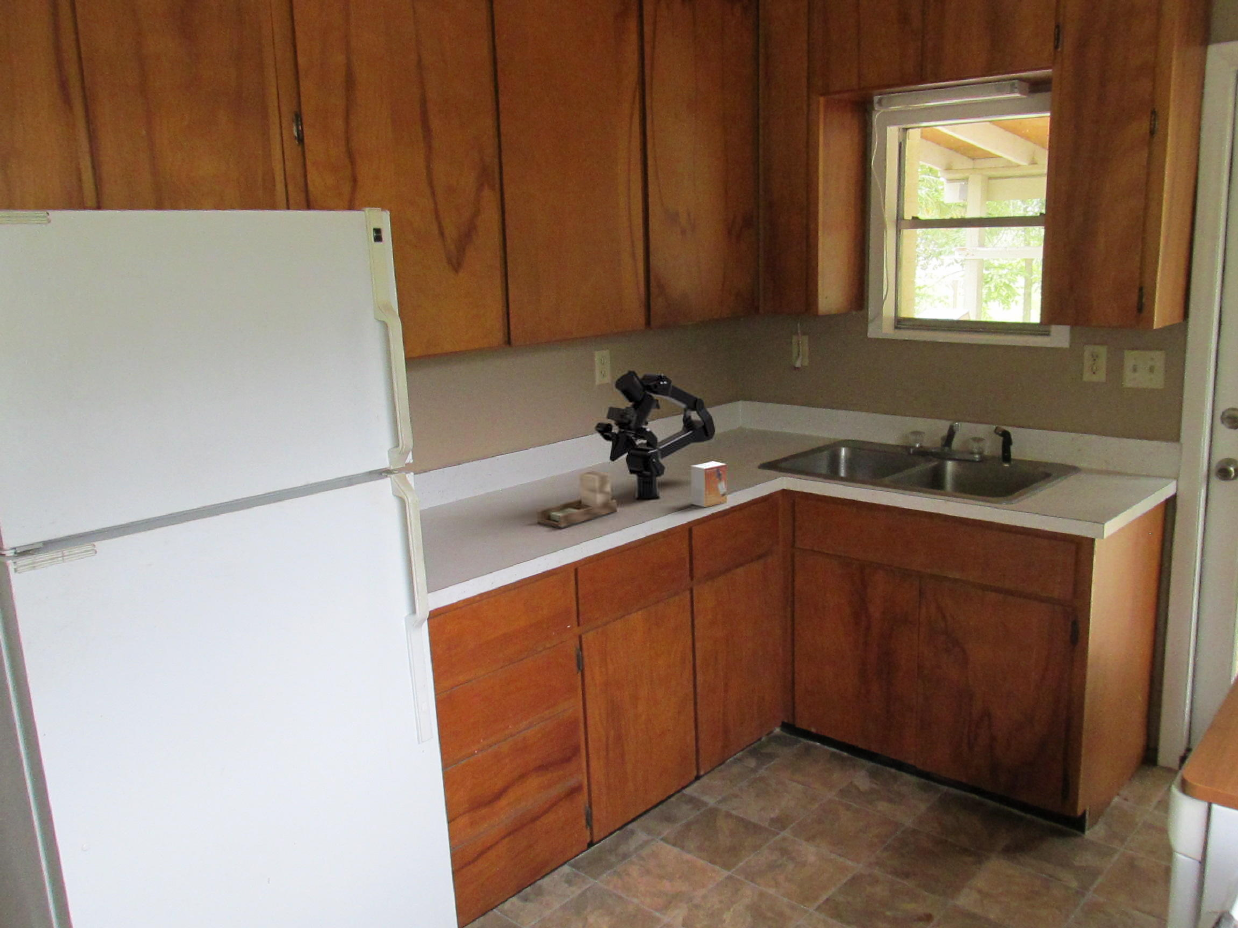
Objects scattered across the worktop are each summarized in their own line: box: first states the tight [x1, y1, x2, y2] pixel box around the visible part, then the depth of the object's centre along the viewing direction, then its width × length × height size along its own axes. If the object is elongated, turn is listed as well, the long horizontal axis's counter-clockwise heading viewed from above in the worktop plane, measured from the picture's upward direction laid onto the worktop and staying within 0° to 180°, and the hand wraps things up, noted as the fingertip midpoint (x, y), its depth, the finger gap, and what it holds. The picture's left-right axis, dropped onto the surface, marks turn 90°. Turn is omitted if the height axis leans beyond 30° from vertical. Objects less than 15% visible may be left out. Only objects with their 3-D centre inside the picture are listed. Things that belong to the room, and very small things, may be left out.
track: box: [536, 498, 618, 530], centre depth 266 cm, size 20×9×3 cm, turn 136°
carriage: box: [579, 470, 612, 506], centre depth 269 cm, size 5×6×8 cm
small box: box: [690, 460, 728, 508], centre depth 274 cm, size 8×6×10 cm
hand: (611, 460), depth 272 cm, fingers closed
